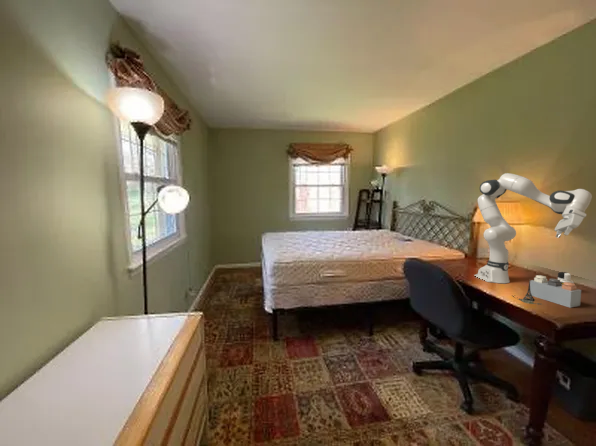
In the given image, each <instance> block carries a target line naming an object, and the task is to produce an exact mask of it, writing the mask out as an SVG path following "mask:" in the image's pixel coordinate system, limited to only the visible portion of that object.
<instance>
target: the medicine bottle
mask: <svg viewBox="0 0 596 446" xmlns="http://www.w3.org/2000/svg"><path fill="white" fill-rule="evenodd" d="M571 277H572V275H571V273H568V272H567V271H560V272H558V273H557V279H558V280H560V282H561V285H564V282H571V283H574V280H572V279H571ZM574 284H575V283H574Z"/></svg>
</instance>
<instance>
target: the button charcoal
mask: <svg viewBox="0 0 596 446" xmlns="http://www.w3.org/2000/svg"><path fill="white" fill-rule="evenodd" d="M548 279H549V280H547V281H548V284H547V285H551V286H555V287H558V286H561V282H560V280H558V278H548Z"/></svg>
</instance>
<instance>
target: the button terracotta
mask: <svg viewBox="0 0 596 446" xmlns="http://www.w3.org/2000/svg"><path fill="white" fill-rule="evenodd" d="M562 289H566V290H570V291H573V290H576V289H577V285H576V283H571V282H564V285H562Z"/></svg>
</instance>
